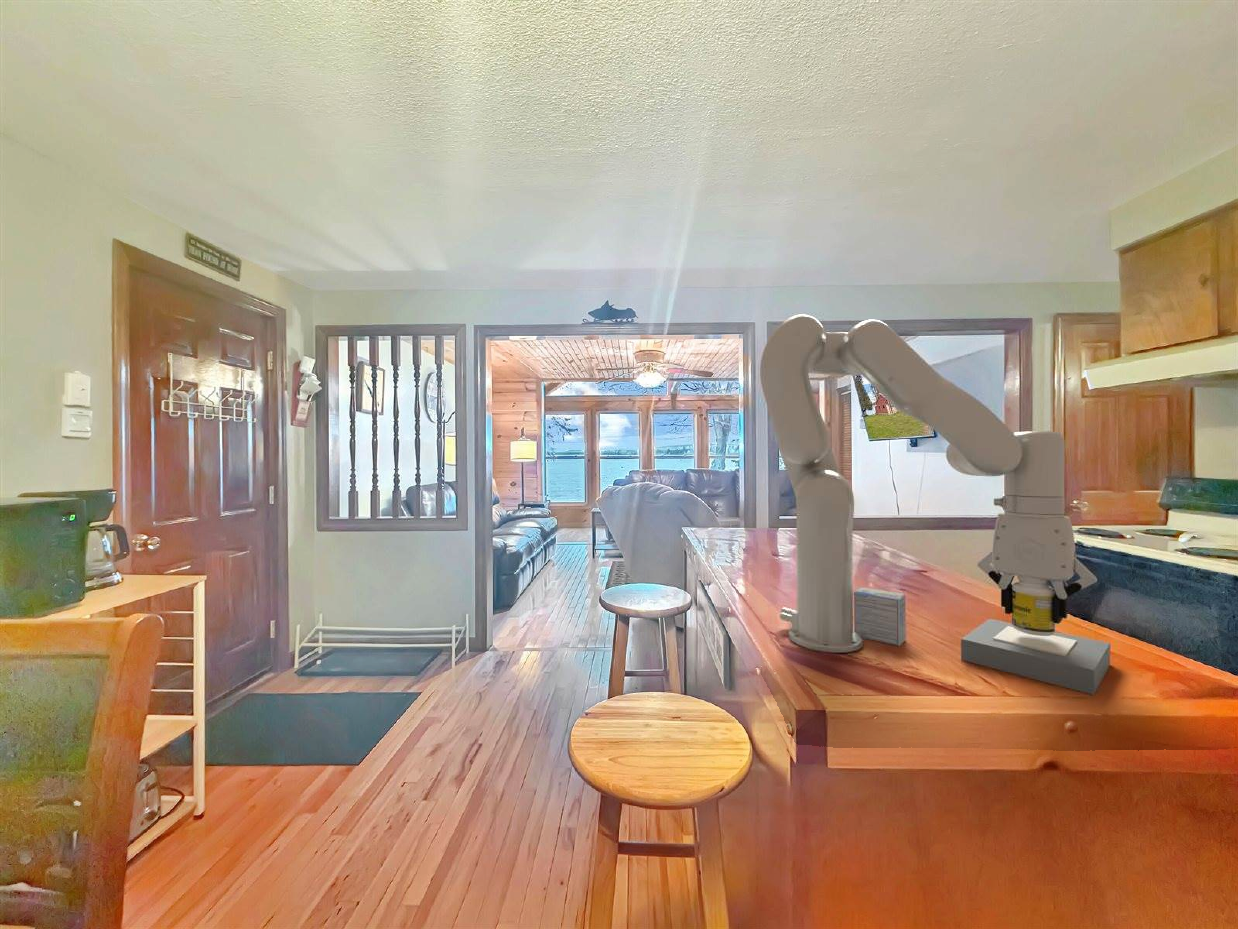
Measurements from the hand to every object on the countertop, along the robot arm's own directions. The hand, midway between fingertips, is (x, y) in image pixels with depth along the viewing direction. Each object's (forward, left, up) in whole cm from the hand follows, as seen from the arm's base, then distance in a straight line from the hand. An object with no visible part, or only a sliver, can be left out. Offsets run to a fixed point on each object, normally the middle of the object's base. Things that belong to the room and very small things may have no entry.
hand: (1033, 615), depth 80 cm
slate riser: (0, 0, -8) cm, 8 cm away
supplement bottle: (0, 0, -3) cm, 3 cm away
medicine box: (-21, -8, -8) cm, 24 cm away
